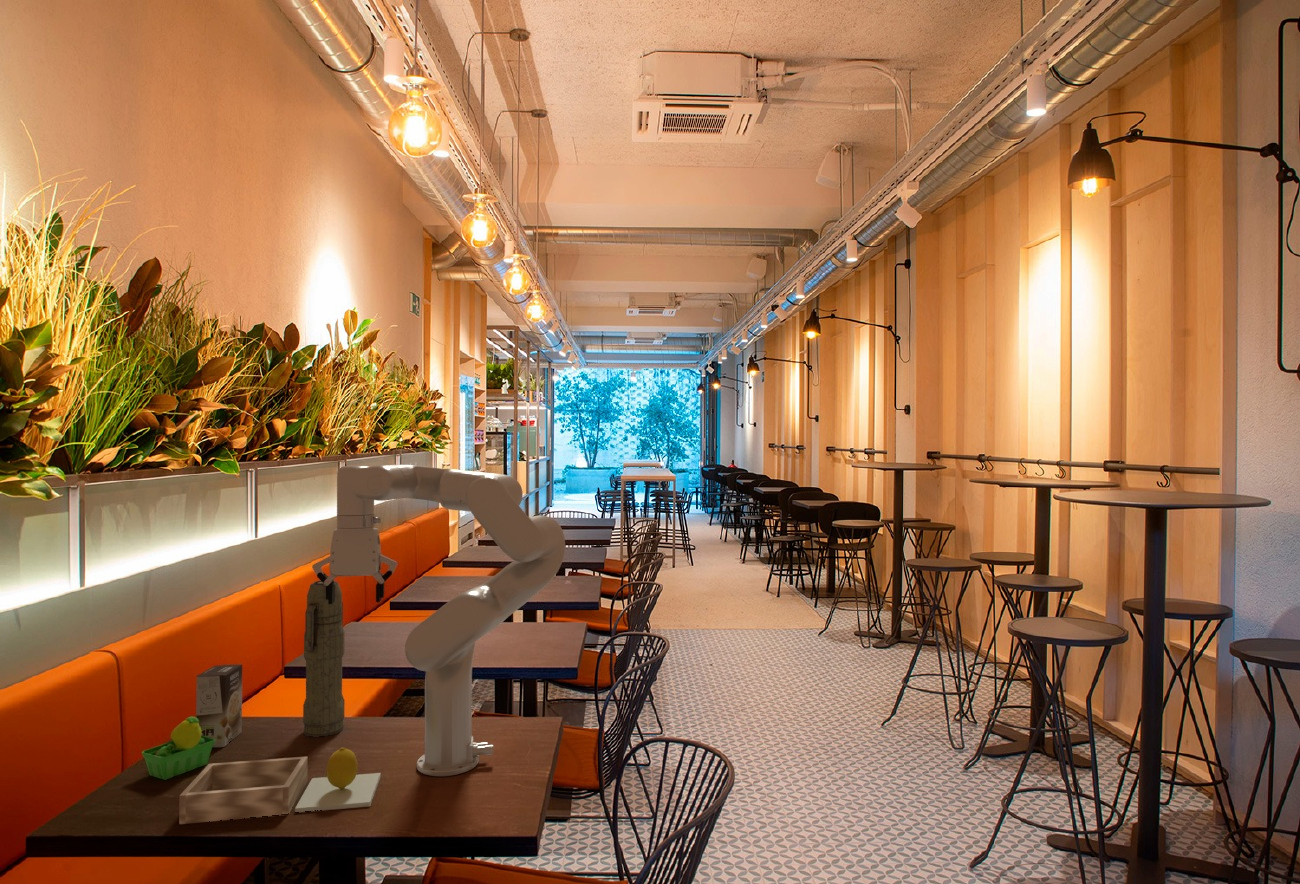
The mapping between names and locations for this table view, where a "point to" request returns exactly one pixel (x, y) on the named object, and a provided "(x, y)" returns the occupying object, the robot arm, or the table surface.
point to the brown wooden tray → (243, 790)
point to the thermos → (323, 662)
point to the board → (338, 794)
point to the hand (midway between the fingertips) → (355, 602)
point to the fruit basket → (179, 751)
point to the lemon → (342, 768)
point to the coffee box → (220, 703)
